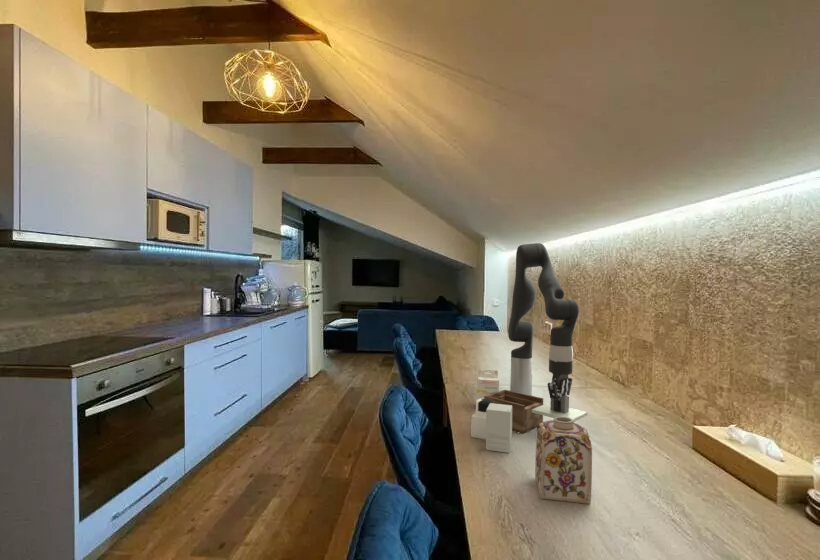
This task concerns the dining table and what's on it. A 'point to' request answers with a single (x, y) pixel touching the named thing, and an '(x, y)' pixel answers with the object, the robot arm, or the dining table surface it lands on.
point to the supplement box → (499, 427)
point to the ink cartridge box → (487, 383)
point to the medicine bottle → (480, 418)
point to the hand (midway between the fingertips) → (559, 409)
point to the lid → (565, 411)
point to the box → (520, 409)
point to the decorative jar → (563, 461)
